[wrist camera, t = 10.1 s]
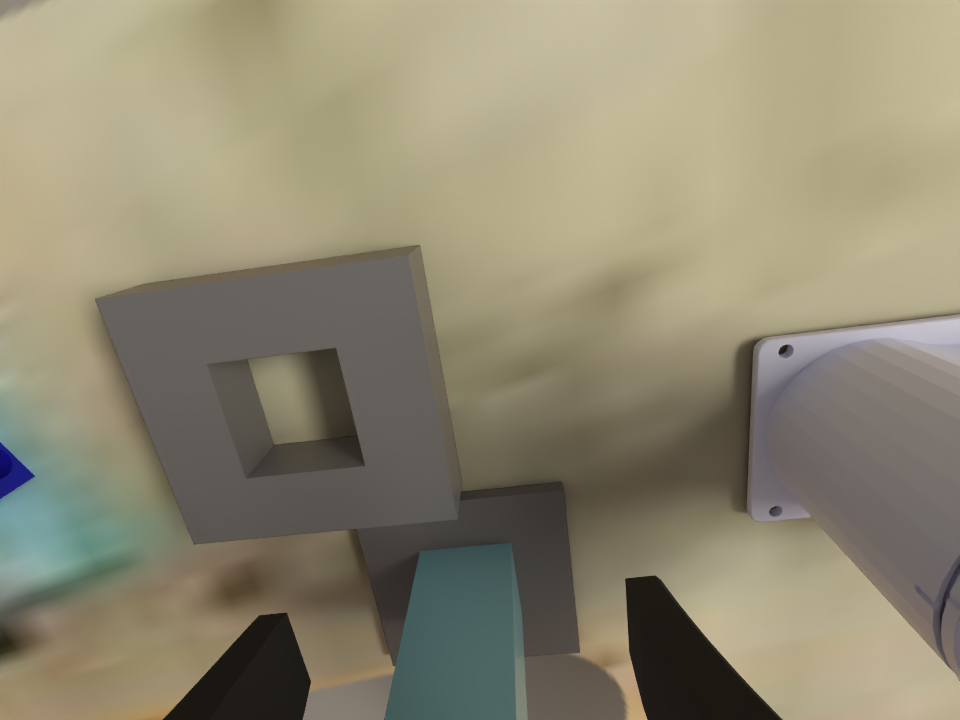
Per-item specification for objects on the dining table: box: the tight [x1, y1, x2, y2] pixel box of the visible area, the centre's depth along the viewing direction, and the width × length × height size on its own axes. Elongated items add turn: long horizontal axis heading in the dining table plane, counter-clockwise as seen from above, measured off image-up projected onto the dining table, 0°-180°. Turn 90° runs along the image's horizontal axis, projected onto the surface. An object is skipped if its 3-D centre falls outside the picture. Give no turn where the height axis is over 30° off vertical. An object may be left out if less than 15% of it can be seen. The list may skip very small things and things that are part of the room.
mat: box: [356, 482, 580, 666], centre depth 23 cm, size 9×9×1 cm
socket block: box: [95, 245, 462, 544], centre depth 19 cm, size 11×10×2 cm
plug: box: [384, 543, 527, 720], centre depth 19 cm, size 4×4×8 cm
